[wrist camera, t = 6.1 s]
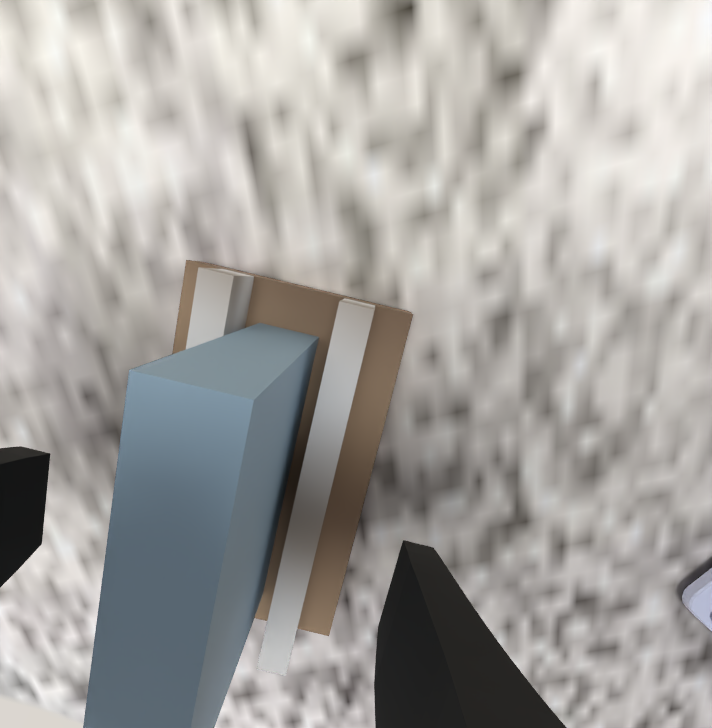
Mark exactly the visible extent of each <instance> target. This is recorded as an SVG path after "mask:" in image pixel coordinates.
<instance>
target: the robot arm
mask: <svg viewBox="0 0 712 728" xmlns="http://www.w3.org/2000/svg"><path fill="white" fill-rule="evenodd" d="M49 461H50V454H49V453H45V452H41V451H37V450H33V449H29V448H25V447H10V448H0V587H1V586H2V585H3V584H4V583H5V582H6V581H7V580H8V579H9V578H10V577H11V576H12V575H13V574H14V573H15V572H16V571H17V570H18V569H19V568H20V567H21V566H22V565H23V564H24V562H25V561H26V560H27V559H28V558H29V557H30V556H31V555H32V554H33V553H34V552H35V550H36V549H37V548H38V547H39V546H40V545H41V544H42V535H43V524H44V513H45V503H46V492H47V482H48V471H49ZM682 601H683V603H684V605H685V606H686V607H687V609H688V610H689V611H690V612H691V613H692V614H693V615H694V616H695V617H696V618H698V619H699V620H700V621H701V622H702V623H703V624H704V625H705V626H706V627H707V628H708V629H709V630H711V631H712V568H711V569H709V570H708V571H707V572H706V573H704V574H703V575H702V576H700V577H699V578H698V579H697V580H695V581H694V582H693V583H691V584H690V585H689V586H688V587H687V588H686V589H685V590H684V592H683V595H682ZM374 689H375V721H376V728H566V727H565V725H564V724H563V723H562V722H561V721H560V720H559V719H558V717H557V716H556V715H555V714H554V713H553V711H552V710H551V709H550V708H549V707H548V705H547V704H546V703H545V702H544V701H543V699H542V698H541V697H540V696H539V695H538V693H537V692H536V691H535V689H534V688H533V687H532V686H531V684H530V683H529V682H528V680H527V679H526V678H525V677H524V675H523V674H522V673H521V672H520V670H519V669H518V668H517V666H516V665H515V664H514V663H513V661H512V660H511V659H510V657H509V656H508V655H507V653H506V652H505V651H504V649H503V648H502V647H501V645H500V644H499V643H498V641H497V640H496V639H495V637H494V636H493V634H492V633H491V632H490V630H489V629H488V627H487V626H486V625H485V623H484V622H483V620H482V619H481V618H480V616H479V615H478V613H477V612H476V610H475V609H474V607H473V606H472V604H471V603H470V602H469V600H468V599H467V597H466V596H465V594H464V593H463V591H462V590H461V588H460V587H459V585H458V584H457V582H456V581H455V579H454V578H453V576H452V575H451V573H450V572H449V570H448V568H447V567H446V565H445V564H444V562H443V561H442V559H441V558H440V556H439V555H438V553H437V552H436V551H435V549H434V548H433V547H428V546H424V545H420V544H416V543H412V542H408V541H404V540H403V543H402V546H401V550H400V553H399V557H398V560H397V563H396V567H395V570H394V574H393V577H392V581H391V584H390V588H389V591H388V595H387V598H386V602H385V605H384V609H383V612H382V615H381V619H380V622H379V626H378V636H377V650H376V665H375V682H374Z"/></svg>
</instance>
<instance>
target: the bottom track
mask: <svg viewBox="0 0 712 728" xmlns="http://www.w3.org/2000/svg"><path fill="white" fill-rule="evenodd" d="M412 317H413V314H412V313H411V312H409V311H405V310H401V309H396V308H392V307H388V306H384V305H380V304H376V303H372V302H367V301H363V300H359V299H355V298H351V297H347V296H342V295H338V294H334V293H330V292H326V291H322V290H317V289H313V288H309V287H305V286H301V285H297V284H293V283H288V282H284V281H280V280H276V279H272V278H268V277H263V276H259V275H255V274H251V273H247V272H243V271H239V270H234V269H230V268H226V267H222V266H218V265H214V264H209V263H205V262H200V261H190V260H186V266H185V273H184V279H183V286H182V293H181V299H180V306H179V313H178V319H177V326H176V333H175V339H174V346H173V353H172V354H175V353H178V352H180V351H183V350H186V349H189V348H191V347H194V346H197V345H200V344H203V343H205V342H208V341H211V340H214V339H216V338H219V337H222V336H225V335H227V334H230V333H233V332H236V331H239V330H241V329H244V328H247V327H250V326H252V325H255V324H258V323H263V324H267V325H271V326H275V327H279V328H284V329H288V330H292V331H296V332H300V333H304V334H309V335H313V336H317V337H319V340H318V344H317V349H316V353H315V358H314V362H313V367H312V372H311V376H310V381H309V385H308V390H307V395H306V399H305V404H304V408H303V413H302V417H301V422H300V427H299V431H298V436H297V440H296V445H295V449H294V454H293V459H292V463H291V468H290V472H289V477H288V481H287V486H286V491H285V495H284V500H283V504H282V509H281V513H280V518H279V523H278V527H277V532H276V536H275V541H274V546H273V550H272V555H271V559H270V564H269V568H268V573H267V578H266V582H265V587H264V591H263V595H262V598H261V601H260V604H259V606H258V609H257V612H256V614H255V617H254V618H257V619H261V620H265V621H267V625H266V629H265V634H264V638H263V642H262V647H261V651H260V656H259V660H258V665H257V669H258V670H262V671H267V672H271V673H275V674H279V675H283V676H286V672H287V668H288V664H289V660H290V656H291V652H292V648H293V644H294V640H295V635H296V631H297V628H298V629H302V630H306V631H310V632H314V633H318V634H323V635H327V636H329V633H330V630H331V626H332V622H333V618H334V614H335V610H336V607H337V603H338V599H339V595H340V591H341V588H342V584H343V580H344V576H345V572H346V568H347V565H348V561H349V557H350V553H351V549H352V546H353V542H354V538H355V534H356V530H357V526H358V523H359V519H360V515H361V511H362V507H363V504H364V500H365V496H366V492H367V488H368V484H369V481H370V477H371V473H372V469H373V465H374V462H375V458H376V454H377V450H378V446H379V443H380V439H381V435H382V431H383V427H384V423H385V420H386V416H387V412H388V408H389V404H390V401H391V397H392V393H393V389H394V385H395V381H396V378H397V374H398V370H399V366H400V362H401V359H402V355H403V351H404V347H405V343H406V339H407V336H408V332H409V328H410V324H411V320H412Z"/></svg>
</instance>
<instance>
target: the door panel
mask: <svg viewBox="0 0 712 728" xmlns="http://www.w3.org/2000/svg"><path fill="white" fill-rule="evenodd" d="M318 340H319V337H317V336H313V335H309V334H304V333H300V332H296V331H292V330H288V329H284V328H279V327H275V326H271V325H267V324H263V323H258V324H255V325H252V326H250V327H247V328H244V329H241V330H239V331H236V332H233V333H230V334H227V335H225V336H222V337H219V338H216V339H214V340H211V341H208V342H205V343H203V344H200V345H197V346H194V347H191V348H189V349H186V350H183V351H180V352H178V353H175V354H172V355H169V356H167V357H164V358H161V359H158V360H156V361H153V362H150V363H147V364H144V365H142V366H139V367H136V368H133V369H131V370H129V376H128V384H127V392H126V400H125V407H124V415H123V423H122V431H121V439H120V446H119V454H118V462H117V470H116V477H115V485H114V493H113V501H112V508H111V516H110V524H109V532H108V539H107V547H106V555H105V563H104V571H103V578H102V586H101V594H100V602H99V609H98V617H97V625H96V633H95V640H94V648H93V656H92V664H91V671H90V679H89V687H88V695H87V703H86V710H85V718H84V726H83V728H214V726H215V724H216V721H217V718H218V715H219V713H220V710H221V707H222V705H223V702H224V699H225V696H226V694H227V691H228V688H229V685H230V683H231V680H232V677H233V675H234V672H235V669H236V666H237V664H238V661H239V658H240V655H241V653H242V650H243V647H244V645H245V642H246V639H247V636H248V634H249V631H250V628H251V625H252V623H253V620H254V617H255V614H256V612H257V609H258V606H259V604H260V601H261V598H262V595H263V591H264V587H265V582H266V578H267V573H268V568H269V564H270V559H271V555H272V550H273V546H274V541H275V536H276V532H277V527H278V523H279V518H280V513H281V509H282V504H283V500H284V495H285V491H286V486H287V481H288V477H289V472H290V468H291V463H292V459H293V454H294V449H295V445H296V440H297V436H298V431H299V427H300V422H301V417H302V413H303V408H304V404H305V399H306V395H307V390H308V385H309V381H310V376H311V372H312V367H313V362H314V358H315V353H316V349H317V344H318Z"/></svg>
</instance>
